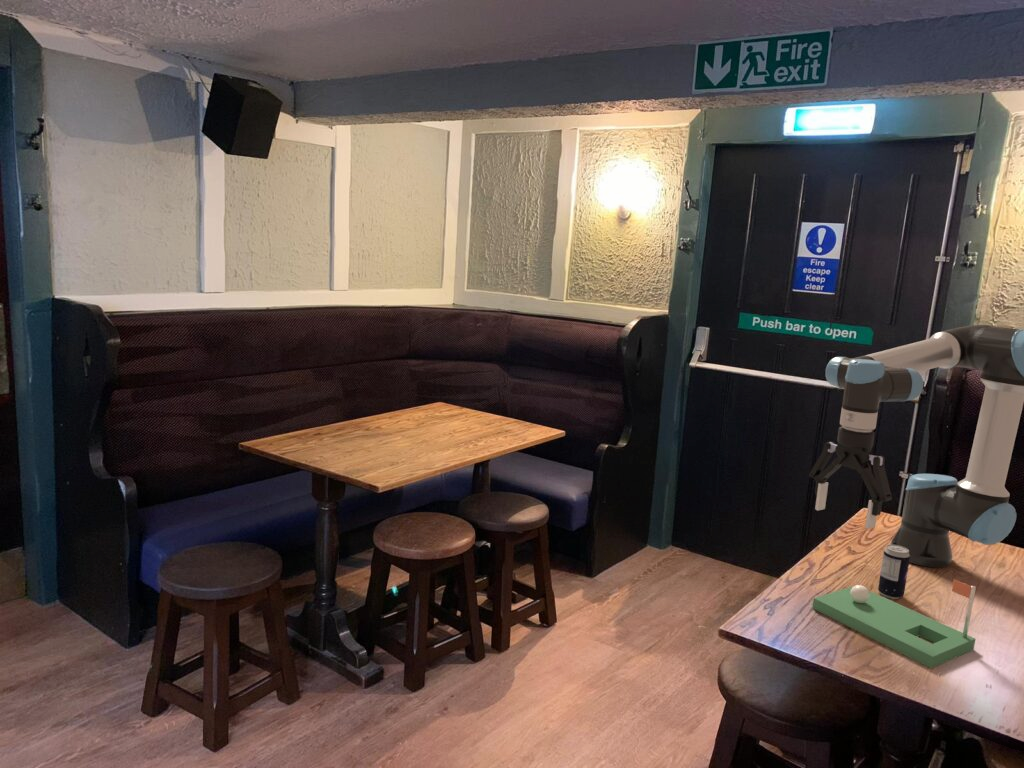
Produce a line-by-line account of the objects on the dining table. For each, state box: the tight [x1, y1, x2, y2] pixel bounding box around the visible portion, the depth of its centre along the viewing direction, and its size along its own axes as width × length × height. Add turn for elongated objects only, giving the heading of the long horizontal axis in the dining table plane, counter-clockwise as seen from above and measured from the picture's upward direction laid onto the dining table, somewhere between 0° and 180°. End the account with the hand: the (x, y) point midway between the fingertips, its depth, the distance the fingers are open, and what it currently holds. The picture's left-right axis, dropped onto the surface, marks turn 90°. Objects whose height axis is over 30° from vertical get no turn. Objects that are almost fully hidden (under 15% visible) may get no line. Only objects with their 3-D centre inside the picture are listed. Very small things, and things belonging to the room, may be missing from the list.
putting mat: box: [812, 584, 976, 669], centre depth 171 cm, size 16×28×2 cm, turn 32°
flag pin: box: [951, 579, 977, 638], centre depth 165 cm, size 1×4×14 cm, turn 32°
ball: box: [850, 584, 870, 603], centre depth 177 cm, size 4×4×4 cm
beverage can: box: [877, 544, 910, 600], centre depth 187 cm, size 6×6×12 cm
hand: (844, 518), depth 179 cm, fingers open, 12 cm apart
